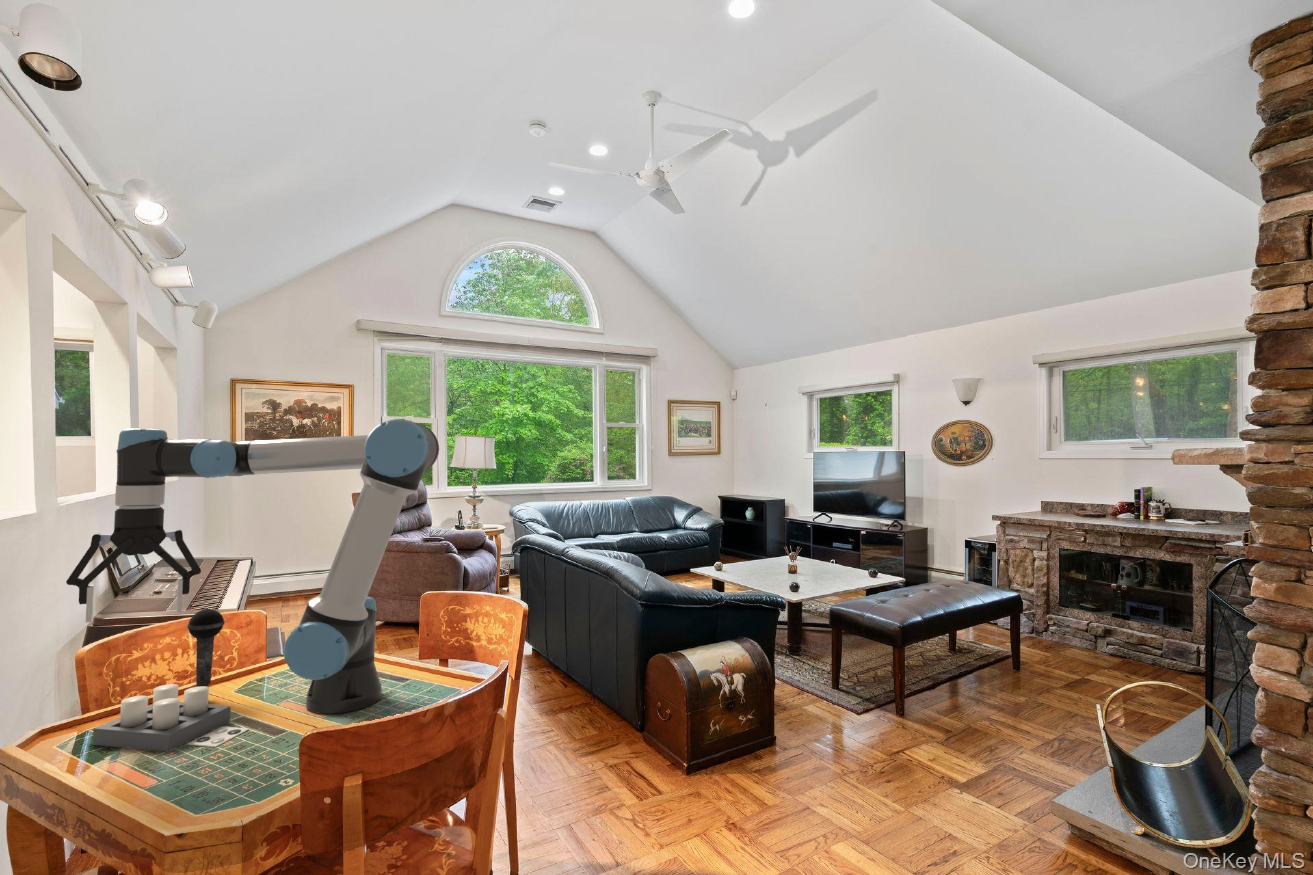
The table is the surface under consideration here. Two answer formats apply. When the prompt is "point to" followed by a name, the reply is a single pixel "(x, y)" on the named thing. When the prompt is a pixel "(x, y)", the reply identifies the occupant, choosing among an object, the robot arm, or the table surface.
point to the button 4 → (195, 701)
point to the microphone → (205, 641)
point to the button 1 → (133, 711)
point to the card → (218, 736)
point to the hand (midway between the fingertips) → (135, 615)
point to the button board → (161, 739)
